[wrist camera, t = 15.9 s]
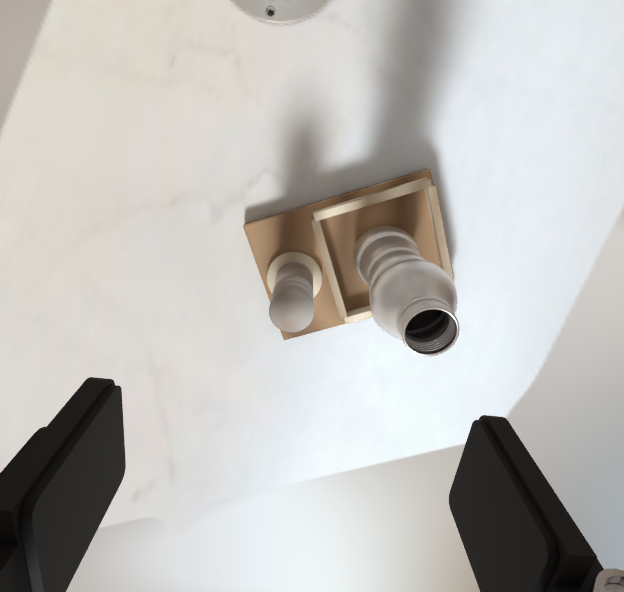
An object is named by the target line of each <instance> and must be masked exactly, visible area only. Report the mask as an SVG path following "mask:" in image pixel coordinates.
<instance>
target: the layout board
mask: <svg viewBox="0 0 624 592" xmlns="http://www.w3.org/2000/svg"><path fill="white" fill-rule="evenodd" d="M378 226H393V227H397V228H400V229H402V230H404V231H406V232H407V233H409V234H410V235H411V236H412V238H413V239H414V241H415V242H416V244H417V247H418V250H419V253H420V256H421V257H423V258H424V259H425V260H427V261H429V262H431V263H434V264H435V265H437V266H438V267H440V268H441V269H443V270H444V271H445V272H446V273H447V274H448V275H449V276H450V277H451V279H452V281H453V282H454V280H453V274H452V269H451V264H450V258H449V253H448V248H447V243H446V237H445V232H444V227H443V221H442V216H441V211H440V206H439V200H438V195H437V190H436V186H435V185H433V183H432V177H431V172H430V170H429V169H425V170H422V171H418V172H415V173H412V174H408V175H405V176H402V177H398V178H395V179H392V180H389V181H385V182H382V183H379V184H375V185H372V186H369V187H365V188H362V189H359V190H355V191H352V192H349V193H345V194H342V195H339V196H336V197H332V198H329V199H326V200H322V201H319V202H316V203H312V204H309V205H306V206H302V207H299V208H296V209H293V210H289V211H286V212H283V213H279V214H276V215H273V216H269V217H266V218H263V219H259V220H256V221H253V222H249V223H246V224H244V226H243V228H244V230H245V233H246V236H247V239H248V241H249V244H250V247H251V250H252V253H253V255H254V258H255V261H256V264H257V266H258V269H259V272H260V275H261V278H262V280H263V283H264V286H265V289H266V291H267V294H268V297H269V300H270V308H269V315H270V319H271V321H272V322H273V324H274V325H275V326H276V327H277V328H279V329H280V330H281V333H282V336H283V339H284V340H287V339H290V338H294V337H298V336H301V335H305V334H309V333H312V332H316V331H320V330H323V329H327V328H331V327H334V326H338V325H342V324H349V323H352V322H356V321H360V320H364V319H367V318H371V317H373V316H372V313H371V308H370V302H369V287H368V285H367V284H366V283H365V282H364V281H363V280H362V279H361V278H360V277H359V276H358V274H357V273H356V271H355V268H354V265H353V252H354V248H355V245H356V243H357V241H358V239H359V238H360V237H361V236H362V235H363V234H364V233H365V232H366V231H368V230H370V229H372V228H374V227H378Z"/></svg>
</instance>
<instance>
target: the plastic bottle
mask: <svg viewBox="0 0 624 592" xmlns="http://www.w3.org/2000/svg"><path fill="white" fill-rule="evenodd" d="M353 265H354V268H355V271H356V273H357V274H358V276H359V277H360V278H361V279H362V280H363V281H364V282H365V283H366V284H367V285H368V287H369V302H370V308H371V313H372V316H373V318H374V320H375V322H376V323H377V324H378V326H379V327H380V328H381V329H383V330H384V331H385V332H387V333H388V334H390V335H391V336H393V337H395V338H398V339H400V340H403V342H404V344H405V345H406V346H407V348H408V349H410V350H411V351H412V352H414V353H415V354H418V355H422V356H434V355H438V354H441V353H443V352H445V351H447V350H448V349H449V348H451V346H452V345H453V344H454V343H455V341H456V340H457V337H458V335H459V324H458V321H457V318H456V317H455V312H456V309H457V293H456V288H455V285H454V282H453V281H452V279H451V277H450V276H449V275H448V274H447V273H446V272H445V271H444V270H443V269H441V268H440V267H438V266H437V265H435V264H434V263H431V262H429V261H427V260H425V259H424V258H423V257H421V256H420V253H419V250H418V247H417V244H416V242H415V241H414V239H413V238H412V236H411V235H410V234H409V233H407V232H406V231H404V230H402V229H400V228H397V227H393V226H378V227H374V228H372V229H370V230H368V231H366V232H365V233H364V234H363V235H362V236H361V237H360V238H359V239H358V241H357V243H356V245H355V248H354V252H353Z"/></svg>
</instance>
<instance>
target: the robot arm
mask: <svg viewBox="0 0 624 592" xmlns="http://www.w3.org/2000/svg"><path fill="white" fill-rule="evenodd" d="M231 1H232V2H233V3H234V4H235V5H236V6H237V7H238V8H239V9H241V10H242V11H243V12H245V13H246V14H247V15H249V16H251V17H253V18H255V19H257V20H259V21H261V22H265V23H269V24H274V25H288V24H293V23H298V22H301V21H303V20H306V19H308V18H310V17H312V16H314V15H315V14H316V13H318V12H319V11H321V10H322V9H323V8H324V7H325V6H326V5H327V4H328V3H329V2H330V1H331V0H231ZM269 11H273V12H274V15H273V16H269V15H268V13H269ZM124 473H125V446H124V428H123V410H122V392H121V387H120V386H116V385H115V383H114V380H112V379H103V378H93V377H90V378H88V379H87V380H86V381H85V382H84V383H83V384H82V385H81V387H80V388H79V389H78V390H77V391H76V392H75V394H74V395H73V396H72V397H71V398H70V400H69V401H68V402H67V403H66V404H65V406H64V407H63V408H62V409H61V410H60V412H59V413H58V414H57V415H56V416H55V418H54V419H53V420H52V421H51V422H50V424H49V425H48V426H47V427H42V428H40V429H39V430H38V431H37V432H36V433H34V435H33V436H32V437H31V438H30V439H29V440H28V442H27V443H26V444H25V445H24V446H23V447H22V449H21V450H20V451H19V452H18V453H17V454H16V456H15V457H14V458H13V459H12V460H11V461H10V463H9V464H8V465H7V466H6V467H5V468H4V470H3V471H2V472H1V473H0V592H66V590H67V588H68V586H69V584H70V582H71V580H72V578H73V576H74V574H75V572H76V570H77V568H78V566H79V564H80V562H81V560H82V558H83V556H84V555H85V553H86V551H87V549H88V547H89V545H90V543H91V541H92V539H93V537H94V535H95V533H96V531H97V529H98V527H99V525H100V523H101V521H102V519H103V517H104V515H105V513H106V511H107V509H108V507H109V505H110V503H111V501H112V499H113V497H114V495H115V494H116V492H117V490H118V488H119V486H120V484H121V482H122V479H123V477H124ZM449 505H450V509H451V512H452V515H453V517H454V520H455V523H456V526H457V528H458V531H459V534H460V537H461V539H462V542H463V545H464V548H465V550H466V553H467V556H468V559H469V561H470V564H471V567H472V570H473V572H474V575H475V578H476V580H477V583H478V586H479V589H480V592H624V571H623V570H619V569H605V570H604V569H603V567H602V566H601V564H600V563H599V561H598V559H597V556H596V554H595V553H594V552H593V550H592V548H591V547H590V545H589V544H588V542H587V541H586V539H585V538H584V536H583V535H582V533H581V532H580V530H579V529H578V527H577V526H576V524H575V522H574V521H573V520H572V518H571V516H570V515H569V513H568V512H567V510H566V509H565V507H564V506H563V504H562V503H561V501H560V500H559V498H558V497H557V495H556V494H555V492H554V490H553V489H552V487H551V486H550V484H549V483H548V481H547V480H546V478H545V477H544V475H543V474H542V472H541V471H540V469H539V468H538V466H537V465H536V463H535V462H534V460H533V458H532V457H531V456H530V454H529V452H528V451H527V449H526V448H525V447H524V445H523V443H522V442H521V440H520V439H519V437H518V436H517V434H516V433H515V431H514V429H513V428H512V426H511V425H510V423H509V422H508V420H507V419H506V418H504V417H496V416H486V415H483V416H481V417H480V418H479V420H475V421H474V422H473V424H472V426H471V429H470V433H469V436H468V439H467V442H466V445H465V448H464V451H463V454H462V457H461V460H460V463H459V466H458V469H457V472H456V475H455V478H454V482H453V484H452V487H451V490H450V494H449Z"/></svg>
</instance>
